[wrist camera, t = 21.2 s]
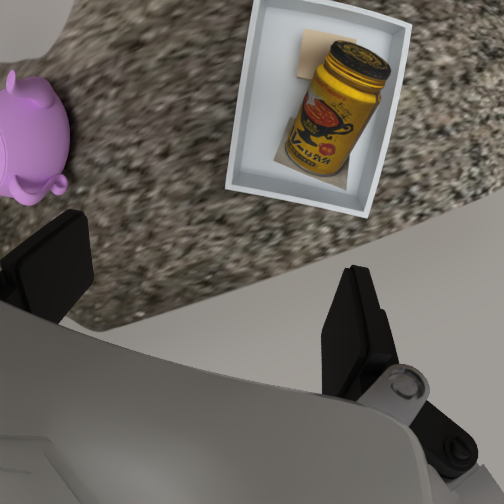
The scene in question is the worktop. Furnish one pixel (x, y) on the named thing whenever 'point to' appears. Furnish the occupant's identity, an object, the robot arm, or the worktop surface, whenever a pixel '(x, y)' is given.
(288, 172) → the tote
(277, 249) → the worktop surface
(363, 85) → the condiment
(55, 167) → the teapot
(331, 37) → the cube
